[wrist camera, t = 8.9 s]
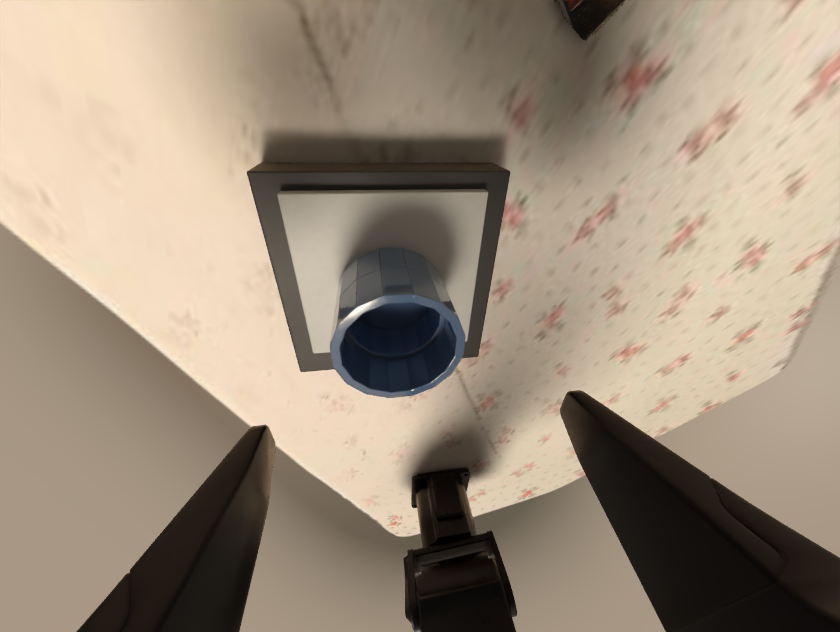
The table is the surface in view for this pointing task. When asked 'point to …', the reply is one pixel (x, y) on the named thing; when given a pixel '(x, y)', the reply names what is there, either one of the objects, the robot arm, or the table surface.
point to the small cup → (394, 325)
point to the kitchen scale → (376, 235)
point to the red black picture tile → (588, 14)
